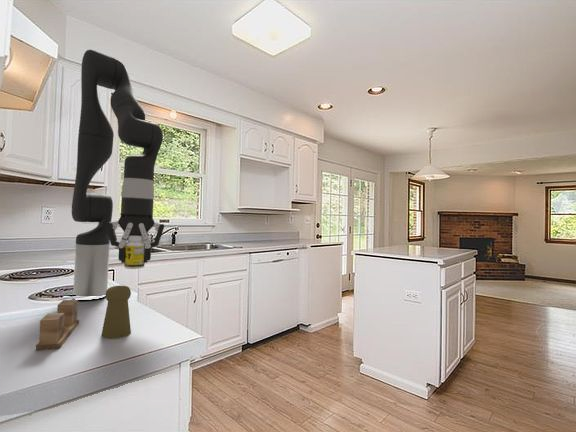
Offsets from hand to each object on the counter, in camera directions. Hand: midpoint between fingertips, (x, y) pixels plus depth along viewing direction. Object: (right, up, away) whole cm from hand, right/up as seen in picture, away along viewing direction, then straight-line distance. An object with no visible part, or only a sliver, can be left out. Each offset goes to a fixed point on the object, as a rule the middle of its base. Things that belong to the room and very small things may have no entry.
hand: (134, 262), depth 82 cm
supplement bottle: (0, -2, 0) cm, 2 cm away
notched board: (-11, -15, -11) cm, 22 cm away
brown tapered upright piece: (0, -16, -9) cm, 18 cm away
